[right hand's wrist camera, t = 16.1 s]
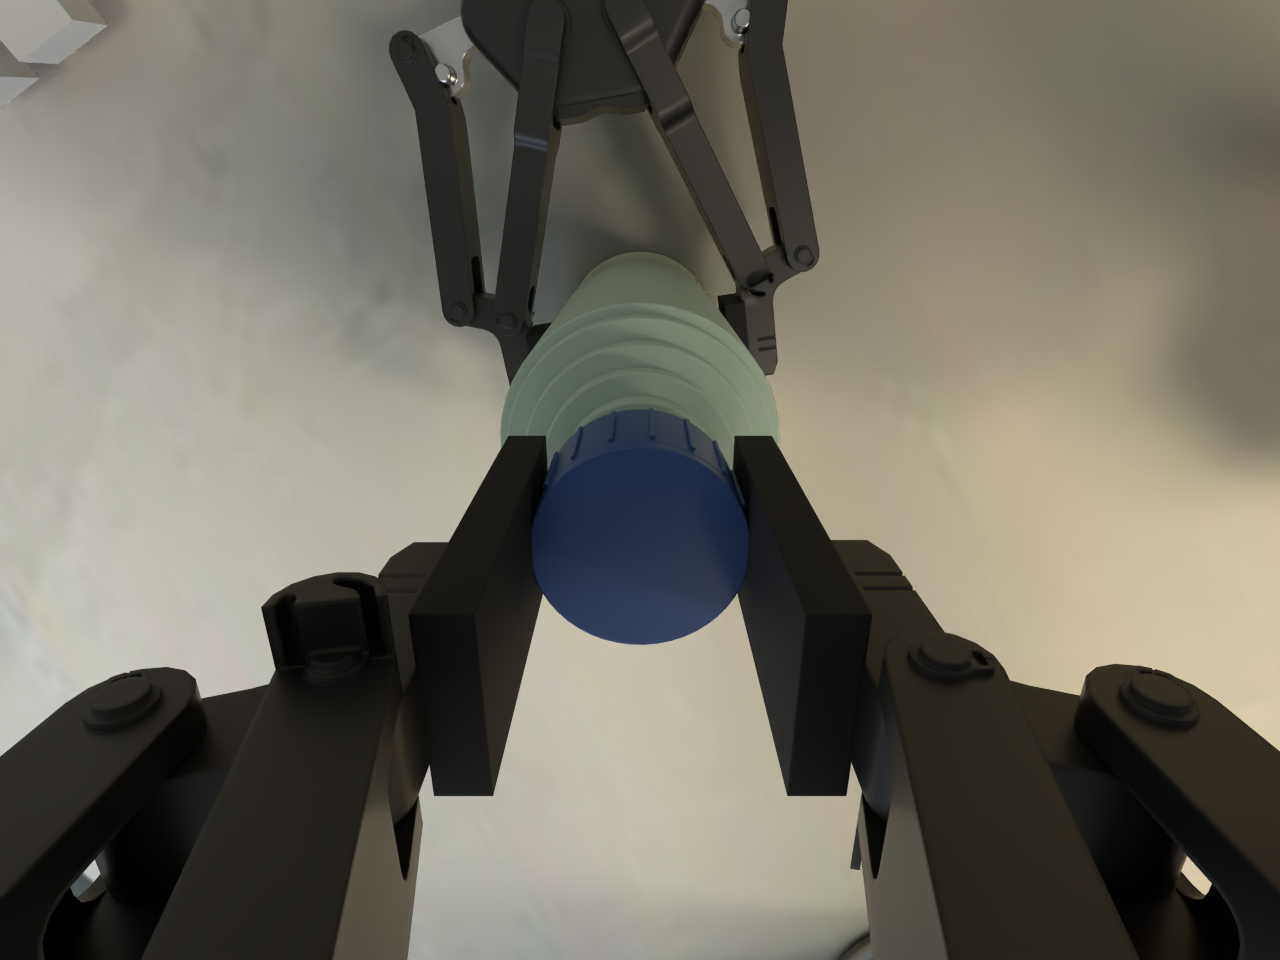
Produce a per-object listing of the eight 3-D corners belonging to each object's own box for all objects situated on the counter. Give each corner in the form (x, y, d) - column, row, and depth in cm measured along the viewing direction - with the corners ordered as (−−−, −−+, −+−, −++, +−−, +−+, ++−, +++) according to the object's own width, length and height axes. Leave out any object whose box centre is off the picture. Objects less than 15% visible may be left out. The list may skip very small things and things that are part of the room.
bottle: (583, 406, 36) (497, 721, 14) (554, 265, 33) (394, 385, 11) (719, 384, 35) (847, 673, 14) (701, 239, 33) (821, 313, 11)
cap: (564, 597, 15) (551, 661, 13) (523, 423, 14) (501, 464, 12) (746, 570, 15) (764, 631, 13) (723, 390, 13) (739, 426, 11)
